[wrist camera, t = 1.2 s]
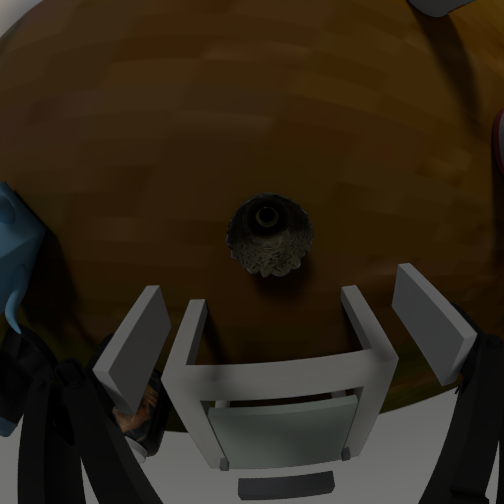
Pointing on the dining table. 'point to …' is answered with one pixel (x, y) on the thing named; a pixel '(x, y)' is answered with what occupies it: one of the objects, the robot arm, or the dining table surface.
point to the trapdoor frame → (279, 379)
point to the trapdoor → (284, 443)
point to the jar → (147, 419)
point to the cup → (269, 235)
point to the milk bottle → (438, 6)
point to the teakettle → (16, 251)
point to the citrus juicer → (499, 140)
